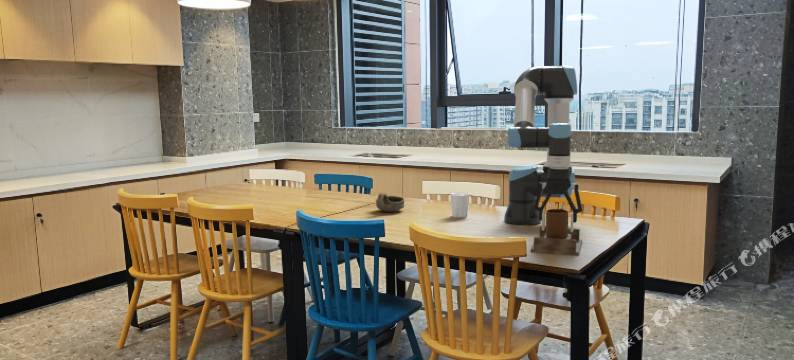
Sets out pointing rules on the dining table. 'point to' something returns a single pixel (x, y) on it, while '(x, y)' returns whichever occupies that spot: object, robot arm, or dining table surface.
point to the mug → (557, 223)
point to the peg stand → (558, 243)
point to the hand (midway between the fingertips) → (557, 230)
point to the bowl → (389, 202)
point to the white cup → (459, 204)
